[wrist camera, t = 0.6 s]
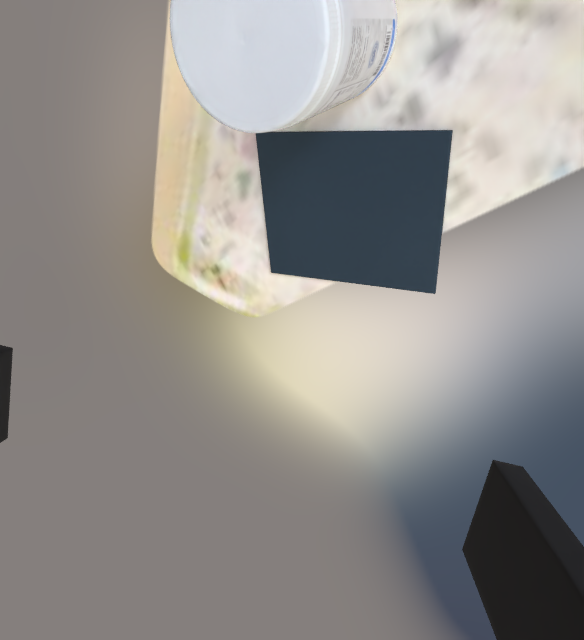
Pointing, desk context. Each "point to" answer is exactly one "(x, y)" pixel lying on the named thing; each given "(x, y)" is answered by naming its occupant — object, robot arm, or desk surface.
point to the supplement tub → (279, 56)
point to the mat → (356, 205)
